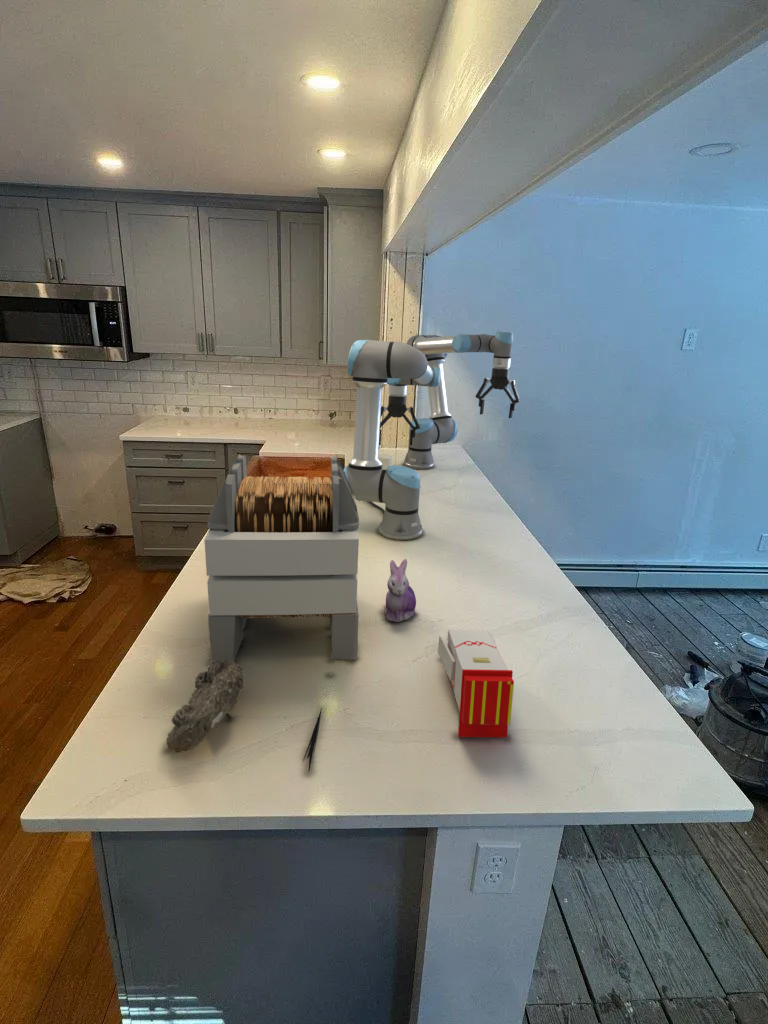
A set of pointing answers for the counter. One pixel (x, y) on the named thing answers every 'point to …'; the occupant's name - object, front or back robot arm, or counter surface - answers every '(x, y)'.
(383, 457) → the canister
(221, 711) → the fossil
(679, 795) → the counter surface
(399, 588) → the figurine
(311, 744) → the feather
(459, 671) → the toy
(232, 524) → the record crate
